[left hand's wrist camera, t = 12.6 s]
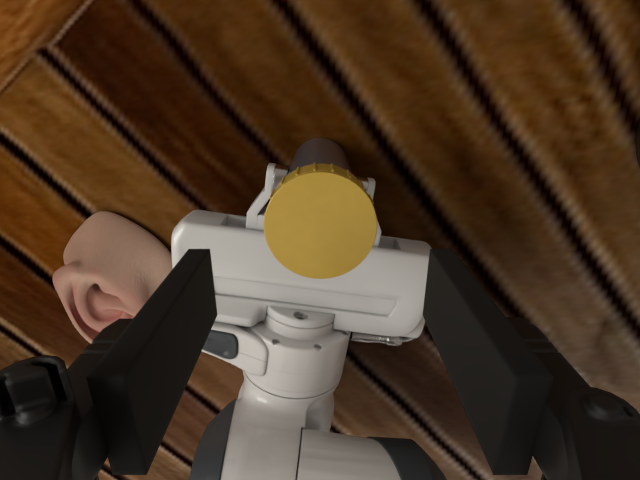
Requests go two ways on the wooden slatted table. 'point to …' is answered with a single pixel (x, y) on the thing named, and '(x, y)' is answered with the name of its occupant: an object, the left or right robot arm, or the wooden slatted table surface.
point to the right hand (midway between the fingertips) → (321, 171)
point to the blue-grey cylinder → (319, 154)
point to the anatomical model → (109, 272)
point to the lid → (320, 221)
